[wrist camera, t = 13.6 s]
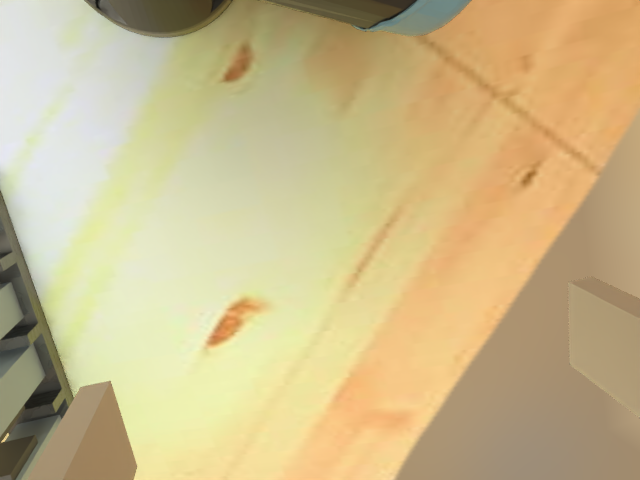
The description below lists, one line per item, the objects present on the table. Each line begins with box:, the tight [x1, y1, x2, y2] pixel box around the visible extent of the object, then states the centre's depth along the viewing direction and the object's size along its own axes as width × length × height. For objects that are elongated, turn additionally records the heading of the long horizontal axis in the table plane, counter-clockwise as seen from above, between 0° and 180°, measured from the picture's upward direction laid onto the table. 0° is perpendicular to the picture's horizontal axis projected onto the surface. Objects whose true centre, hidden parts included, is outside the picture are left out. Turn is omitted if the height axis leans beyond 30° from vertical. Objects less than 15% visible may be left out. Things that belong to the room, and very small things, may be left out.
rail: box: [0, 192, 74, 435], centre depth 44 cm, size 29×6×4 cm, turn 10°
